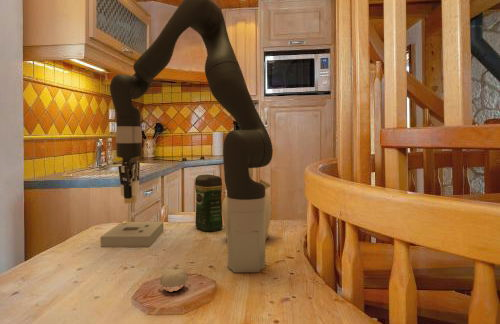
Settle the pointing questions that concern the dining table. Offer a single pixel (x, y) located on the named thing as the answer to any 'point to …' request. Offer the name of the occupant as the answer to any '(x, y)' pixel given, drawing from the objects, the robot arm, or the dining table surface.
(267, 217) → the jug
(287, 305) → the dining table surface
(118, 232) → the socket
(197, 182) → the coffee jar
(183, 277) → the garlic
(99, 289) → the dining table surface
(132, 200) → the plug
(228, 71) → the robot arm
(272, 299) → the dining table surface
